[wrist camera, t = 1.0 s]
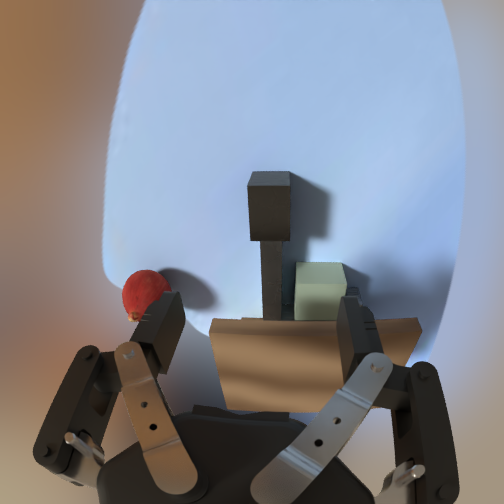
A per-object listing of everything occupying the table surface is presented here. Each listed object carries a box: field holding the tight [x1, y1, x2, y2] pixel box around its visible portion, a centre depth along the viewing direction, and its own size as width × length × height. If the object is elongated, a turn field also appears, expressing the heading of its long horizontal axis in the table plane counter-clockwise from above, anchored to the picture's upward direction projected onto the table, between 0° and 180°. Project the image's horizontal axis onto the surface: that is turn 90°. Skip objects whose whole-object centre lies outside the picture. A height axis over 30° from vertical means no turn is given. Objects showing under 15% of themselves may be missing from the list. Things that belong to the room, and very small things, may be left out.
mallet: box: [247, 171, 363, 321], centre depth 28 cm, size 18×12×4 cm
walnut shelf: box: [209, 318, 422, 412], centre depth 27 cm, size 12×16×12 cm
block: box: [294, 262, 347, 320], centre depth 30 cm, size 5×5×4 cm
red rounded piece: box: [122, 270, 172, 322], centre depth 31 cm, size 6×6×8 cm
